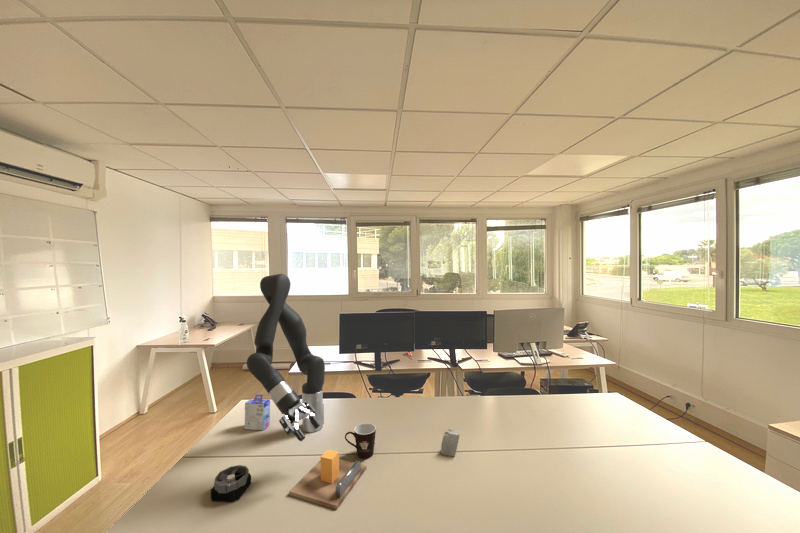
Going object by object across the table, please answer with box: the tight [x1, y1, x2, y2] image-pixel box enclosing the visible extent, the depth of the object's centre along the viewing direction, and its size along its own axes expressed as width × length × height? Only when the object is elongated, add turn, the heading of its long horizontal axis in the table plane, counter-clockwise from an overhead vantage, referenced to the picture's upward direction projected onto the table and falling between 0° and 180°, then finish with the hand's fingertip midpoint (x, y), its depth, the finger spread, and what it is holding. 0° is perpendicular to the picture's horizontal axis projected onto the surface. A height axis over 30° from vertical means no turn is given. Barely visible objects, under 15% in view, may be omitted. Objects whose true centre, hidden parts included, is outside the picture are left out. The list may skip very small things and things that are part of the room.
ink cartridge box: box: [244, 394, 271, 431], centre depth 141 cm, size 10×6×14 cm, turn 83°
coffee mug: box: [344, 422, 377, 460], centre depth 120 cm, size 12×9×10 cm
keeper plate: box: [288, 458, 368, 510], centre depth 104 cm, size 20×18×5 cm
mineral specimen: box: [440, 428, 461, 457], centre depth 120 cm, size 7×9×8 cm
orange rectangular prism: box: [320, 449, 340, 483], centre depth 104 cm, size 4×4×8 cm
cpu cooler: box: [210, 464, 252, 503], centre depth 100 cm, size 10×6×10 cm
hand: (311, 433), depth 107 cm, fingers open, 8 cm apart
